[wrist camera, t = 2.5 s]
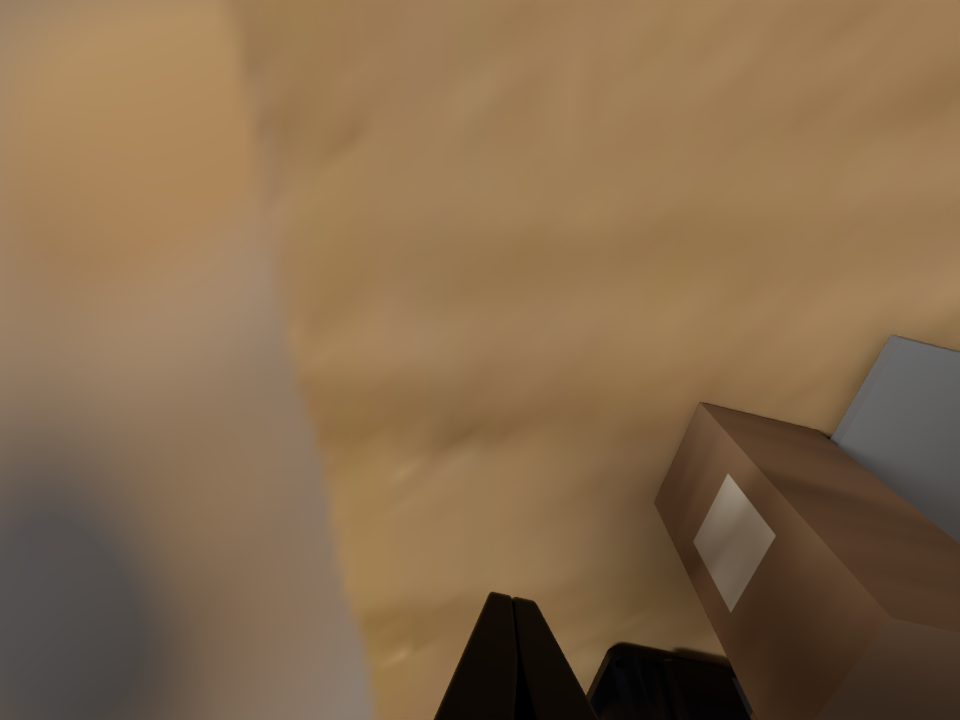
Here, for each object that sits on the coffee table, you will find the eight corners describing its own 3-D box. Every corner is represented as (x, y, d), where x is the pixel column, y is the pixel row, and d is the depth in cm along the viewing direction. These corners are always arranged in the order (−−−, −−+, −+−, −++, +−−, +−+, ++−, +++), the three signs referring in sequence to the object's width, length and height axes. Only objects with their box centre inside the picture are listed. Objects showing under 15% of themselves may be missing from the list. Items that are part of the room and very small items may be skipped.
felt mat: (931, 646, 18) (939, 656, 18) (734, 603, 18) (739, 612, 18) (1136, 395, 15) (1152, 401, 14) (891, 334, 14) (901, 338, 14)
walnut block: (762, 527, 17) (971, 805, 9) (653, 502, 17) (779, 766, 9) (817, 430, 15) (1113, 667, 8) (699, 402, 15) (890, 617, 8)
